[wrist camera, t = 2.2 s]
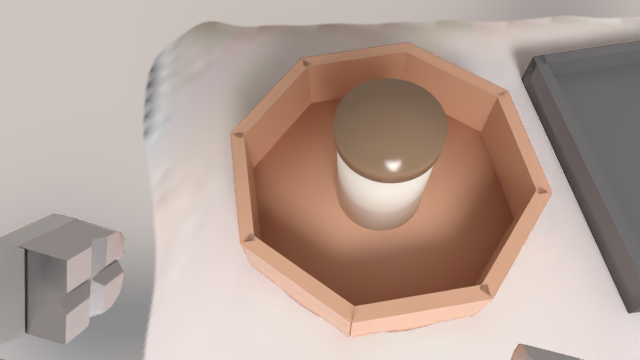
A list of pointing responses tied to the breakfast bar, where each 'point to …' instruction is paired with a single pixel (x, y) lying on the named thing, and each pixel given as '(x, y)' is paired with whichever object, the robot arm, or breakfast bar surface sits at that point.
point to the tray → (598, 145)
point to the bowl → (400, 243)
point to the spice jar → (386, 150)
